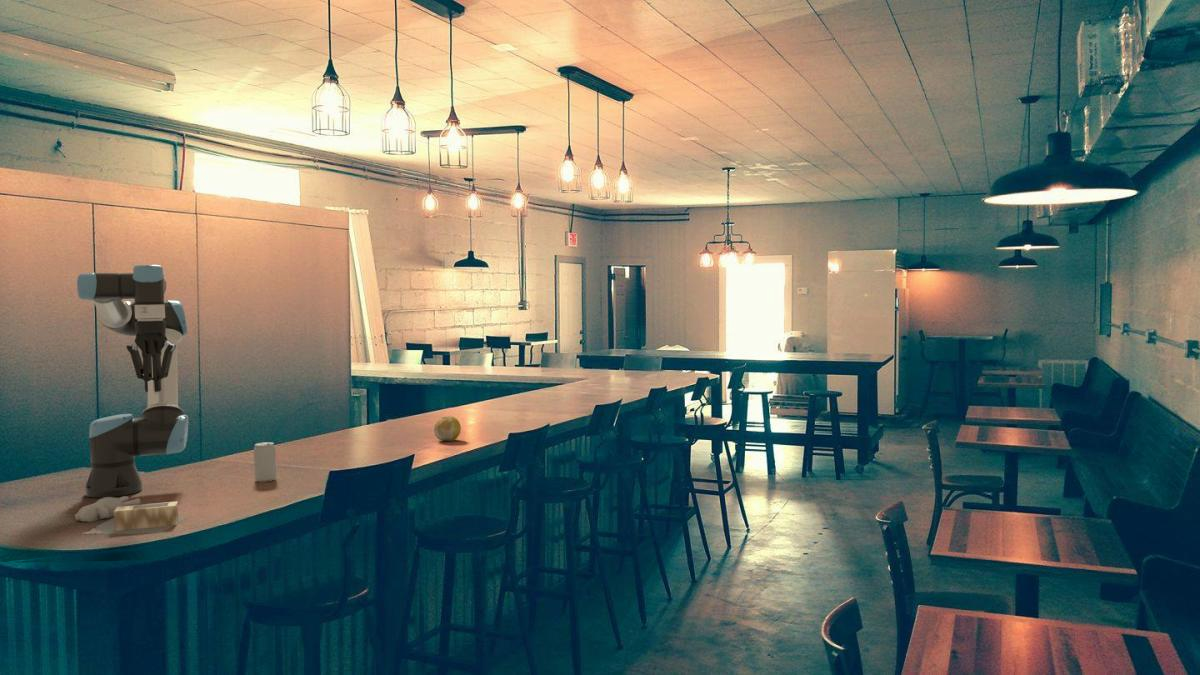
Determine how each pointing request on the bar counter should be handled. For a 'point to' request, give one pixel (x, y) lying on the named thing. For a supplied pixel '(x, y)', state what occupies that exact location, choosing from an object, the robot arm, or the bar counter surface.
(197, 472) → the bar counter surface
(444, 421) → the fruit
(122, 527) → the maple block
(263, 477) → the beverage can
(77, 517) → the bunny figurine
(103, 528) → the rubber mat
